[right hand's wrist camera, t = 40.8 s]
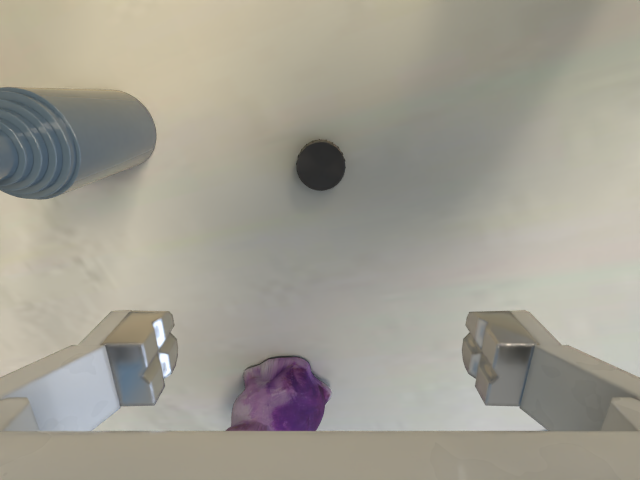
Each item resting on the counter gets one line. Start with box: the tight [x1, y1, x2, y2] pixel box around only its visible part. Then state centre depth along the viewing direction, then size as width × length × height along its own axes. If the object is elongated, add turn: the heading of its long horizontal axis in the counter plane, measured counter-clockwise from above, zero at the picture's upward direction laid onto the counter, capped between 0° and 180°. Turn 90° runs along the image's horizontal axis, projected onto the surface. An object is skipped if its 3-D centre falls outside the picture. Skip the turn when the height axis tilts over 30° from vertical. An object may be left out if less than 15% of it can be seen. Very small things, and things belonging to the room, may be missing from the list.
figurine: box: [226, 357, 332, 431], centre depth 39 cm, size 9×10×15 cm
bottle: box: [0, 87, 156, 199], centre depth 27 cm, size 7×7×18 cm
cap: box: [296, 139, 345, 191], centre depth 36 cm, size 5×5×2 cm
